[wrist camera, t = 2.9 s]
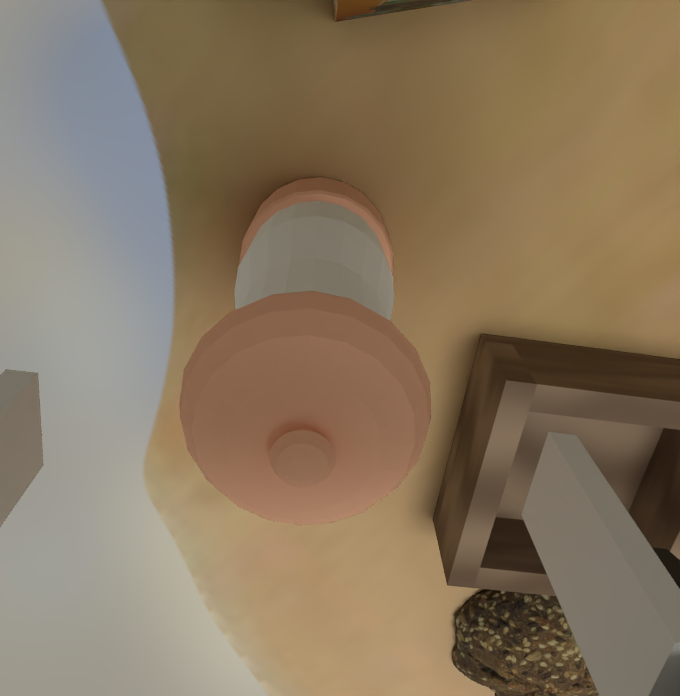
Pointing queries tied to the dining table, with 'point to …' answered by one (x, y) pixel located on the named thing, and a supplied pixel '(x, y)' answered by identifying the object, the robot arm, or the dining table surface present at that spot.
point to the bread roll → (520, 646)
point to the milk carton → (379, 7)
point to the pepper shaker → (308, 365)
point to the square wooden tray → (528, 441)
